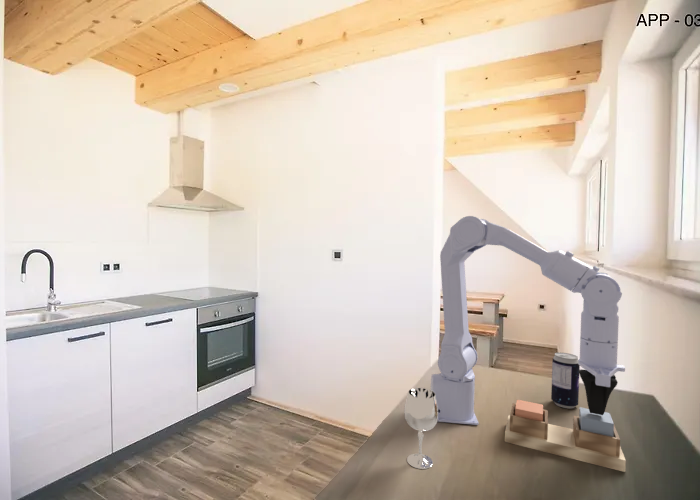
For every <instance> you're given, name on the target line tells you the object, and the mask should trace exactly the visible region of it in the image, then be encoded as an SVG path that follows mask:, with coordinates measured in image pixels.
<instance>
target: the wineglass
mask: <svg viewBox="0 0 700 500" xmlns="http://www.w3.org/2000/svg"><path fill="white" fill-rule="evenodd" d="M404 420H405V421H406V423H407V425H408V426H409V427H410V428H412V429H413V430H416V431H417V439H418V453H417V452H416V453H411V454H409V455H408V456H407V458H406V462H407V463H408V465H410V466H411V467H413V468H415V469H419V470H427V469H430V468H431V467H433V465H434V462H433V460H432V458H431V457H430V456H428V455H426V454H423V452H422V451H423V450H422V447H423V439H424V432H428V431H430V430H432V429H434V427H436V425H437V423H438V422H437V420H438V405H437V400H436V395H435V393H434V392H433V391H431V389H428V388H425V387H424V388H423V387H415V388H411V389H409V390H408V392H407V396H406V400H405V404H404Z"/></svg>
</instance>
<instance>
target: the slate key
mask: <svg viewBox="0 0 700 500" xmlns="http://www.w3.org/2000/svg"><path fill="white" fill-rule="evenodd" d="M578 407H579V409H578V410H579V411H578V412H579V413H578V417H579V425H580V430H583V431H588V432H592V433H597V434H602V435H606V436H611V437H613V434H614V425H615V424H614V423H615V422H614V421H613V419H612V416H611V412H607V411H605V412H604V414H603V415H599V414H594V413H590V411H589V408H585V407H581V406H578Z"/></svg>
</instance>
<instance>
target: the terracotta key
mask: <svg viewBox="0 0 700 500" xmlns="http://www.w3.org/2000/svg"><path fill="white" fill-rule="evenodd" d="M515 404H516V408H515V416H519V417H524V418H528V419H533V420H537V421H542V422H543V410H544V405H543V404H542V403H536V402H532V401H531V402H530V401H527V400H521V399H516V402H515Z"/></svg>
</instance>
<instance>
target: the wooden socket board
mask: <svg viewBox="0 0 700 500" xmlns="http://www.w3.org/2000/svg"><path fill="white" fill-rule="evenodd" d="M515 408H516V403H514V402H513V403H512V404H511V410H510V414H508V416H507V420H506V425H505V431H504V443H508V444H513V445H516V446H519V447H524V448H528V449H532V450H536V451H539V452H544V453H546V454H547V453H548V454H552V455H556V456H560V457H563V458H564V457H565V458H567V459H571V460H576V461H580V462H583V463H588V464H592V465H596V466H600V467H604V468H608V469H612V470H616V471H620V472H623V473H625V472H626V464H627V460H626V457H625V454H624V453H623V450H622V447H621V438H620V435H619V433H618V431H617V428H616V425H615V424H614V434H613V437H611V436H606V435H602V434H597V433H592V432H588V431H583V430H580V425H579V415H578V416H576V415H573V418H572V421H573V422H572V423H573V426H572V428H569V427H564V426H560V425H555V424H550V423H549V411H548V410H547V409H543V422H542V421H537V420H533V419H528V418H524V417H519V416H515Z"/></svg>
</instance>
